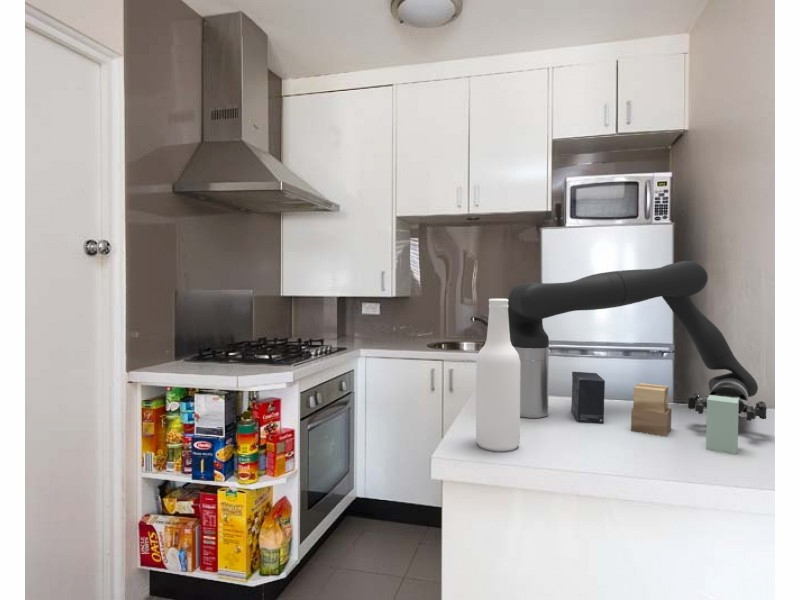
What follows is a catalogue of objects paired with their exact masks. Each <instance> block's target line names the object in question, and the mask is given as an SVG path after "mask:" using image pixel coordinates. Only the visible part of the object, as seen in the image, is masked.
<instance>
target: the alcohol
mask: <svg viewBox="0 0 800 600" xmlns="http://www.w3.org/2000/svg"><path fill="white" fill-rule="evenodd" d="M508 302H509V300H508V298H489V299H488V303H489V304H488V321H487V322H488V323H487V330H486V331H487V332H486V339H485V343H484V345H483V347H481V348H480V350H479V352H478V353H477V357H476V362H475V363H476V365H475V366H476V370H475V371H476V374H475V375H476V377H475V379H476V383H475V385H476V386H475V387H476V389H475V390H476V391H475V392H476V393H475V394H476V395H475V402H476V403H475V405H476V406H475V413H476V414H475V427H476V428H475V441H476V443H477V444H478V446H479V447H480V448H482V449H484V450H486V451H491V452H499V453H500V452H512V451H514V450H516V449H517V448H518V447H519V445H520V441H521V417H520V358H519V354H518V353H517V351H516V350H515V348H514V347H513V346H512V344H511V337H510V331H509V318H508V307H509V305H508Z"/></svg>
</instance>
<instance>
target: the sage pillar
mask: <svg viewBox="0 0 800 600" xmlns="http://www.w3.org/2000/svg"><path fill="white" fill-rule="evenodd" d="M708 396H709V397H708V399H707V412H706V428H705V429H706V431H705V433H706V434H705V436H706V437H705V440H706V441H705V450H707V451H708V450H709V451H714V452H719V453H725V454H730V455H731V454H732V455H737V453H738V448H739V447H738V446H739V445H738V444H739V416H738V412H739V398H731V397H722V396H714V395H708Z"/></svg>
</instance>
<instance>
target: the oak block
mask: <svg viewBox="0 0 800 600" xmlns="http://www.w3.org/2000/svg"><path fill="white" fill-rule="evenodd" d="M668 407H669V385H663V384H662V385H659V384H649V383H641V382H639V383H638V384H635V386H633V407H632V408H633V409H634V410H641V411H648V412H655V413H662V414H664V412H665V411H666V410H667V409H668Z"/></svg>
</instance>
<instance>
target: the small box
mask: <svg viewBox="0 0 800 600" xmlns="http://www.w3.org/2000/svg"><path fill="white" fill-rule="evenodd" d="M571 384H572V385H571V407H570V412H571V413H572V415H573V417H574V419H575V421H576V422H578V423H580V422H581V423H592V424H593V423H594V424H595V423H596V424H604V423H605V422H604V420H605V418H604V417H605V388H606V387H605V385H606V381H605V379H604V378H602V376H600V375H599V374H598V373H597V372H588V371H587V372H583V371H572V372H571Z"/></svg>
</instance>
